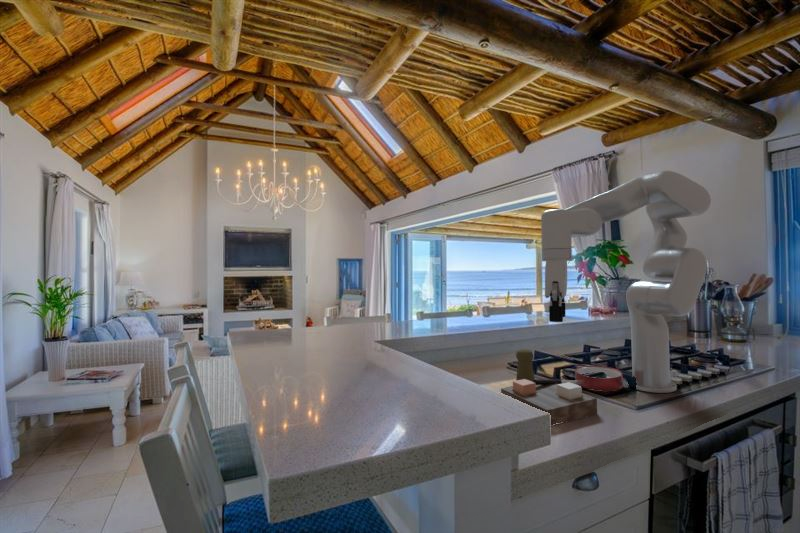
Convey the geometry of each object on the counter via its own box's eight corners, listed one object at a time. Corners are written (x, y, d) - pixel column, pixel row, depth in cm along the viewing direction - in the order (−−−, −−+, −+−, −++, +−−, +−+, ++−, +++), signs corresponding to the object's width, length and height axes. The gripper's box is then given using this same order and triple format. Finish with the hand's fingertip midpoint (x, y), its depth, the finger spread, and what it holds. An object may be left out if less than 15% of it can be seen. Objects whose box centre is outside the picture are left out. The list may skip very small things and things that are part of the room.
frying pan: (563, 412, 103) (562, 387, 102) (524, 397, 114) (523, 376, 114) (632, 386, 119) (631, 365, 119) (592, 376, 130) (591, 357, 130)
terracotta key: (525, 389, 110) (525, 378, 110) (535, 393, 106) (535, 383, 106) (513, 391, 109) (512, 381, 109) (523, 396, 105) (522, 385, 105)
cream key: (569, 392, 106) (568, 382, 106) (581, 397, 102) (581, 386, 102) (557, 395, 104) (556, 384, 104) (569, 400, 100) (569, 389, 100)
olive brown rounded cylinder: (537, 387, 121) (535, 352, 121) (516, 387, 123) (515, 352, 122) (534, 381, 127) (533, 347, 127) (515, 381, 129) (513, 347, 128)
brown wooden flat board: (546, 392, 117) (545, 379, 117) (597, 413, 100) (596, 398, 100) (501, 402, 111) (500, 388, 111) (548, 426, 94) (547, 410, 94)
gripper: (545, 256, 116) (546, 314, 116) (537, 256, 100) (539, 323, 100) (573, 255, 112) (574, 315, 112) (569, 255, 97) (571, 324, 97)
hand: (557, 319), depth 106 cm, fingers open, 9 cm apart
